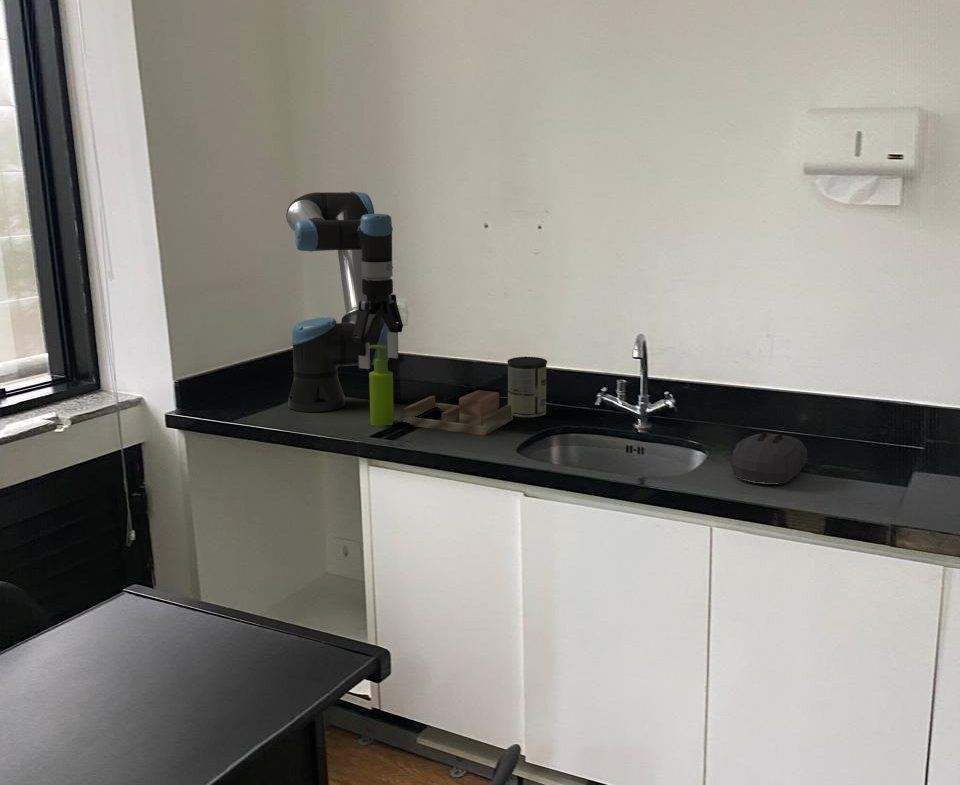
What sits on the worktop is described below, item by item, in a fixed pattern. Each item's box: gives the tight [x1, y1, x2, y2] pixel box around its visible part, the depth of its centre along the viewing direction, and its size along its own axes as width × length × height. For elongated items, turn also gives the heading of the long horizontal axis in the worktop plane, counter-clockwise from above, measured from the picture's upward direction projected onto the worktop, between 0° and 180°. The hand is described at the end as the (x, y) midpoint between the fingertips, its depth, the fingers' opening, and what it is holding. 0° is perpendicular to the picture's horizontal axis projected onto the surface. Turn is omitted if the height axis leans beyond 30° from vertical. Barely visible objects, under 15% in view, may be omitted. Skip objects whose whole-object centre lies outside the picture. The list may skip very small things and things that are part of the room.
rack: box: [400, 395, 514, 436], centre depth 258 cm, size 23×17×4 cm
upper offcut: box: [458, 389, 500, 417], centre depth 254 cm, size 6×10×4 cm, turn 152°
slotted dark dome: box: [731, 431, 808, 484], centre depth 216 cm, size 15×8×20 cm
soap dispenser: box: [368, 345, 395, 427], centre depth 254 cm, size 6×7×20 cm
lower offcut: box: [459, 408, 499, 426], centre depth 255 cm, size 6×10×4 cm, turn 154°
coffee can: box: [507, 356, 548, 418], centre depth 266 cm, size 10×10×14 cm
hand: (379, 363), depth 254 cm, fingers open, 13 cm apart
